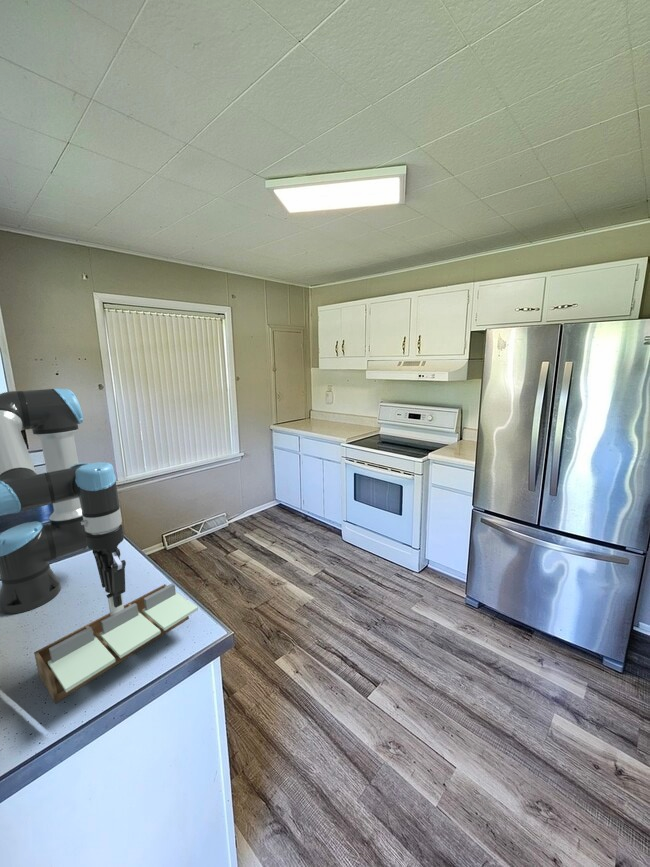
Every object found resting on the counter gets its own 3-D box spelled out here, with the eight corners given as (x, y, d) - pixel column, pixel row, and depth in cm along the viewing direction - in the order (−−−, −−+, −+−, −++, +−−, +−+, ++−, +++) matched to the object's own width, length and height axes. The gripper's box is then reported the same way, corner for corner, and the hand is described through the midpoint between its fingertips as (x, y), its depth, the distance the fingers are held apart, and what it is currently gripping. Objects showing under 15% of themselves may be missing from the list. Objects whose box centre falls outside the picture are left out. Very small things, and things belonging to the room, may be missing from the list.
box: (39, 678, 82) (34, 652, 81) (167, 604, 106) (164, 584, 105) (56, 706, 75) (50, 678, 74) (189, 621, 99) (186, 599, 98)
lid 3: (142, 612, 93) (140, 599, 92) (175, 593, 100) (174, 581, 99) (164, 630, 86) (162, 617, 85) (198, 609, 93) (196, 596, 92)
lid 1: (48, 664, 77) (45, 649, 76) (95, 638, 84) (92, 624, 83) (66, 692, 70) (63, 676, 69) (115, 661, 77) (113, 646, 77)
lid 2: (99, 636, 85) (97, 622, 84) (138, 614, 92) (136, 601, 91) (120, 658, 78) (118, 643, 77) (160, 633, 85) (158, 619, 84)
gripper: (75, 526, 85) (90, 613, 89) (97, 542, 77) (112, 636, 81) (109, 515, 90) (122, 597, 95) (133, 529, 83) (145, 617, 87)
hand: (117, 615), depth 88 cm, fingers closed
